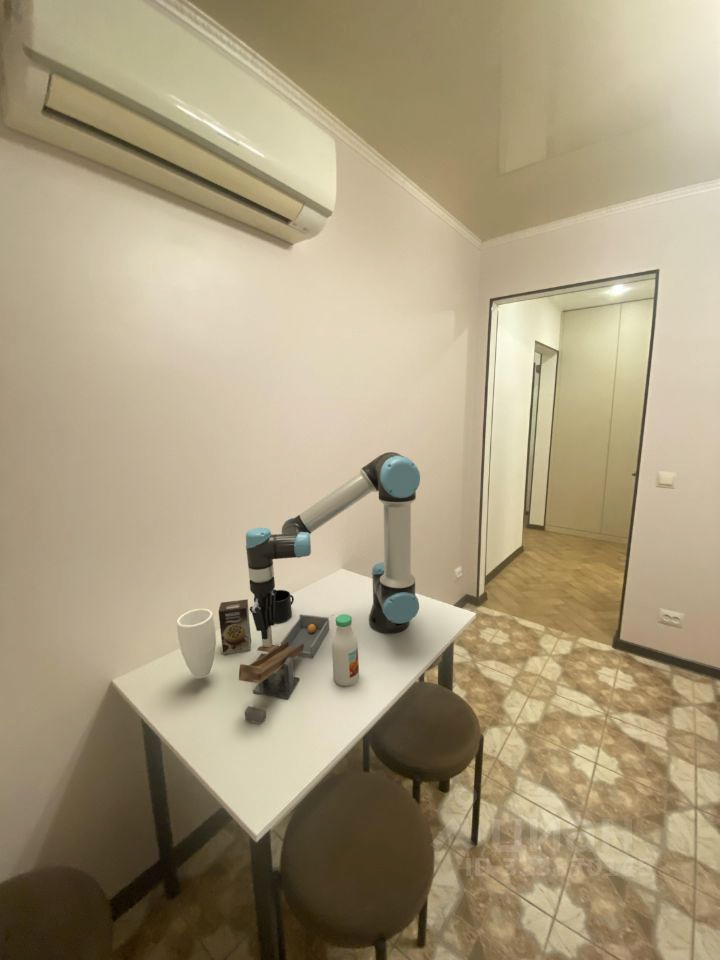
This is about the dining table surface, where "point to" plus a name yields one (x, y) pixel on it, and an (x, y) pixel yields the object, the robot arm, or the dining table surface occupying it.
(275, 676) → the fulcrum
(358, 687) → the dining table surface
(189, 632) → the cup
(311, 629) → the ball
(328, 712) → the dining table surface
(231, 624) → the coffee box
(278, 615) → the mug
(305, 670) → the dining table surface
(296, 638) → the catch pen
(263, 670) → the lever
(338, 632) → the milk bottle
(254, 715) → the block
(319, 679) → the dining table surface
